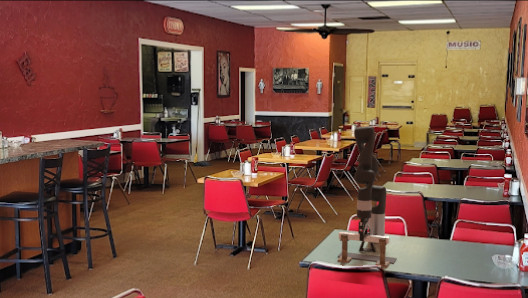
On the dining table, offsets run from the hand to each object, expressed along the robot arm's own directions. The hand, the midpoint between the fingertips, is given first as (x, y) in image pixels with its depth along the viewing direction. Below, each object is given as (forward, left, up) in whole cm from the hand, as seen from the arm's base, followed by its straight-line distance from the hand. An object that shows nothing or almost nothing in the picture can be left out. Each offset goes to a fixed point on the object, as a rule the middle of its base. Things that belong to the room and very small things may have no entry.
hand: (363, 239), depth 296 cm
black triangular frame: (-24, -3, -13) cm, 28 cm away
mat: (-9, 0, -13) cm, 16 cm away
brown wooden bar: (0, 0, -1) cm, 1 cm away
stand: (0, 0, -13) cm, 13 cm away
